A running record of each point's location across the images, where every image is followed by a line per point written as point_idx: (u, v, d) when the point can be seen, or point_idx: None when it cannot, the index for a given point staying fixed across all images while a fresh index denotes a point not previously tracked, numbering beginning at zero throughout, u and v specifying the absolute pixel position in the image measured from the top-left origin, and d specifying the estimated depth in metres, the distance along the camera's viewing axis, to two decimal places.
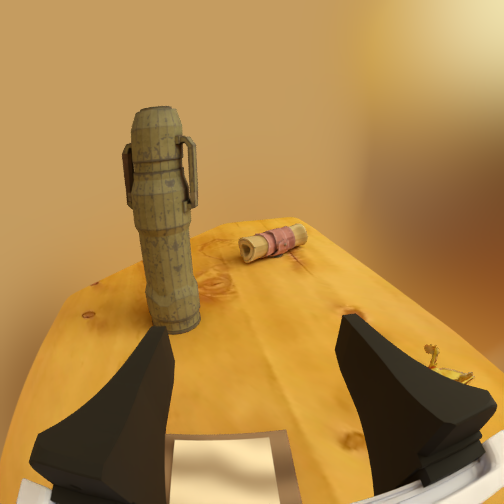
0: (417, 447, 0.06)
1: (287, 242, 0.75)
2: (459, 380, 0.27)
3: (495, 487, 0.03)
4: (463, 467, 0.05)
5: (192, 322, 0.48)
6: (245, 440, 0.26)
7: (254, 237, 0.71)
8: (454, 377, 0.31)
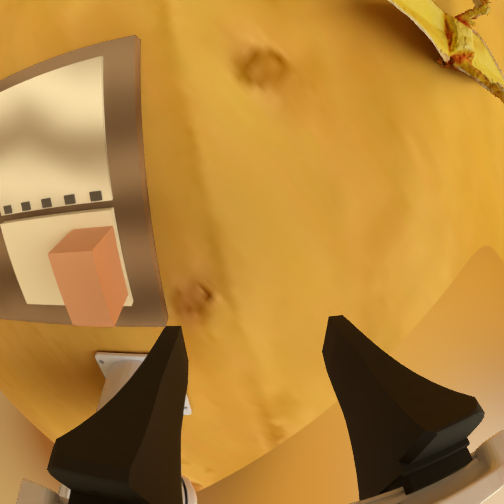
0: (399, 454, 0.06)
1: None
2: (492, 89, 0.12)
3: (495, 487, 0.03)
4: (449, 475, 0.05)
5: None
6: (65, 68, 0.12)
7: None
8: (484, 61, 0.14)
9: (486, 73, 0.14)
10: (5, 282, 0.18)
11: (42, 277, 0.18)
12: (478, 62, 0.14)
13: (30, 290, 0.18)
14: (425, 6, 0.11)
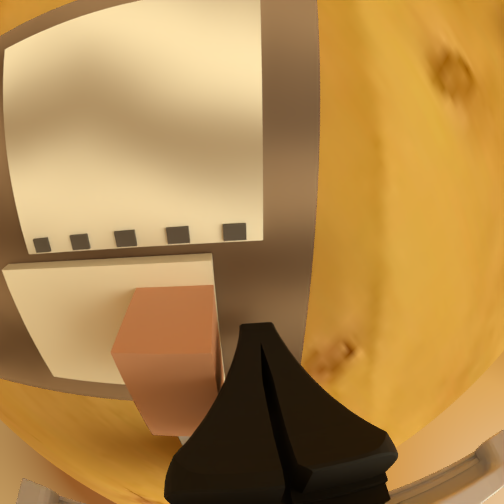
0: (289, 480, 0.05)
1: None
2: None
3: (495, 487, 0.03)
4: None
5: None
6: None
7: None
8: None
9: None
10: None
11: (78, 349, 0.12)
12: None
13: (58, 362, 0.12)
14: None
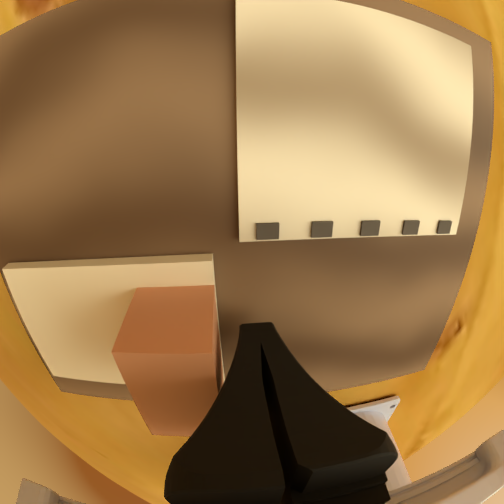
0: (289, 480, 0.05)
1: None
2: None
3: (495, 487, 0.03)
4: None
5: None
6: (430, 31, 0.07)
7: None
8: None
9: None
10: None
11: (78, 349, 0.12)
12: None
13: (58, 361, 0.12)
14: None
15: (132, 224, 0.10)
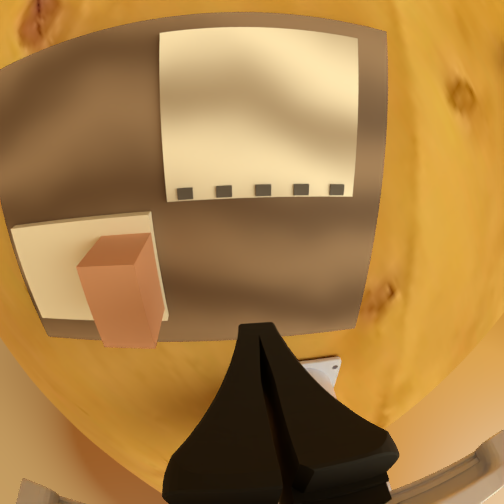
0: (291, 480, 0.05)
1: None
2: None
3: (495, 487, 0.03)
4: None
5: None
6: (312, 34, 0.11)
7: None
8: None
9: None
10: None
11: (61, 289, 0.16)
12: None
13: (46, 303, 0.17)
14: None
15: (99, 192, 0.14)
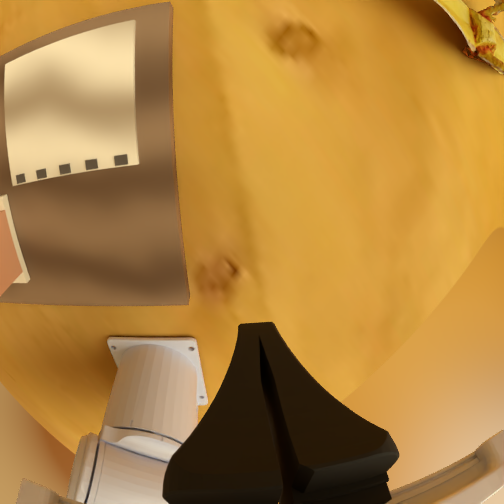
0: (291, 480, 0.05)
1: None
2: None
3: (495, 487, 0.03)
4: None
5: None
6: (95, 31, 0.11)
7: None
8: (503, 54, 0.13)
9: None
10: None
11: None
12: (497, 54, 0.13)
13: None
14: (454, 1, 0.10)
15: None
